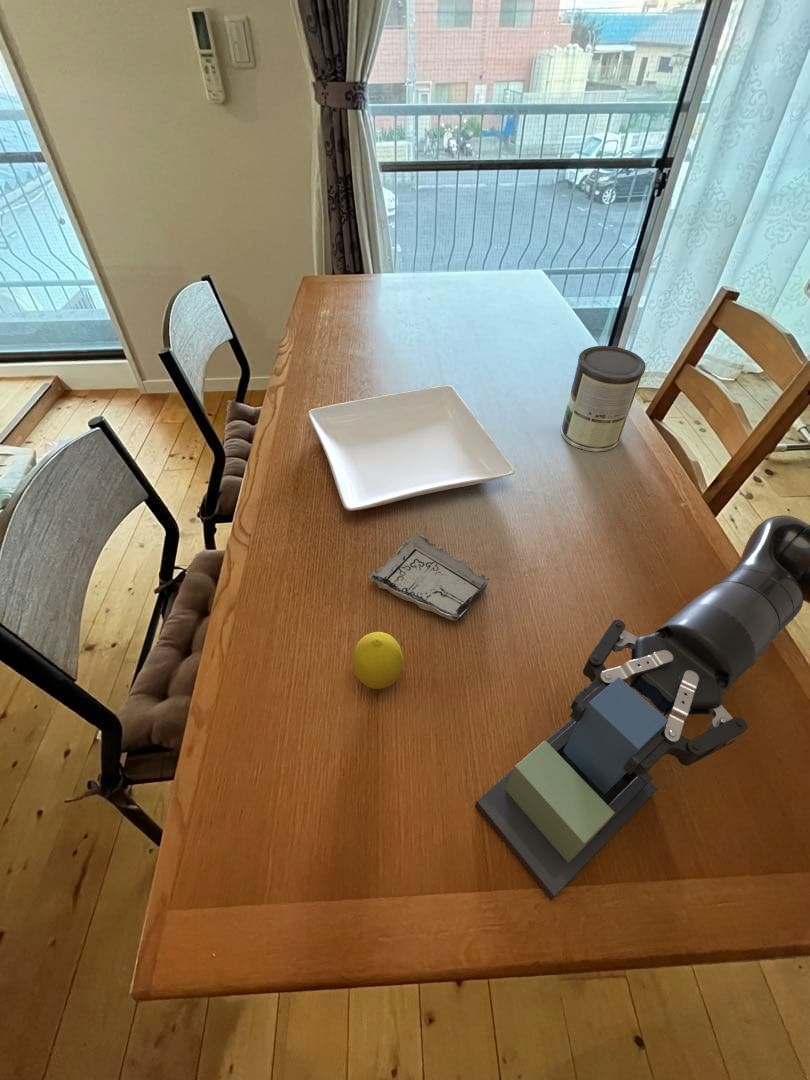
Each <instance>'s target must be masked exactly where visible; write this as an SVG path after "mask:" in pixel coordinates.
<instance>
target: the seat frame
mask: <svg viewBox="0 0 810 1080" xmlns="http://www.w3.org/2000/svg"><path fill="white" fill-rule="evenodd" d="M578 722H579V721H578ZM578 722H575V721H574V720H573V719H572V718H570V719H569V720H568V721H567V722H566V723H565V724H563V726H561V727H560V728H559V729H558V730H556V731H555V732H554V733H553V734H552V735H551V736H549V737H548V738H547V739H546V740H543V741H542V742H541V743H539V744H538V745H537V746H536V747H535V748H534V749H533V750H531V752H529V753H528V754H527V755H526V756H525V757H523V758H522V759H521V760H520V761H519V762H518V763H516V764H515V765H514V768H512V769H511V770H510V771H509V772H508V773H507V774H505V775H504V776H503V777H502V778H501V779H500V780H498V781H497V782H496V783H495V784H494V785H493V786H492V787H490V788H489V789H488V790H487V791H486V792H485V793H483V794H482V795H481V796H480V797H479V798H477V799H476V800H475V803H474V807H476V809H477V810H478V812H479V813H480V814H481V816H482V817H483V818H484V819H485V821H486V822H487V823H488V824H489V825H490V827H491V828H492V829H493V830H494V831H495V833H496V834H497V835H498V836H499V838H500V839H501V840H502V842H503V843H504V844H505V845H506V846H507V848H508V849H509V850H510V852H511V853H512V854H513V855H514V856H515V858H516V859H517V860H518V861H519V863H520V864H521V865H522V867H524V869H525V870H526V871H527V873H528V874H530V876H531V878H532V879H533V880H534V881H535V883H536V884H537V885H538V886H539V887H540V888H541V890H542V891H543V892H544V894H545V895H546V896H547V897H548V899H549V900H550V901H552V900H553V899H554V898H555V897H557V895H558V894H559V893H560V892H561V891H562V890H563V889H564V888H565V887H566V886H567V885H568V884H569V883H570V882H571V880H572V879H574V878H575V876H576V875H577V874H578V873H579V872H581V870H582V869H583V868H584V867H585V866H586V865H587V864H588V863H589V862H590V861H591V860H592V859H593V858H594V856H595V855H596V854H598V852H599V851H601V849H602V848H603V847H604V846H605V845H606V844H607V843H608V842H609V841H610V840H611V838H613V837H614V836H615V834H617V832H618V831H619V830H621V829H622V827H623V826H624V825H625V824H626V823H627V822H628V821H629V820H630V819H631V818H632V817H633V816H634V815H635V814H636V813H637V812H638V810H639V809H640V808H641V807H642V806H643V805H644V804H645V803H646V802H647V801H649V799H650V798H651V797H652V796H653V795H654V794H655V793H656V792H657V790H658V788H657V786H656V785H655V784H653V782H651V780H652V779H653V778H654V777H653V775H652V774H651V773H649V772H648V771H647V772H646V773H645V774H642V775H639V774H638V773H637V772H636V771H633V772H632V773H631V774H630V775H629V774H628V773H626V774H625V775H624V776H623V777H622V778H621V779H620V780H619V781H618V782H617V783H616V784H615V785H614V786H613V787H612V788H610V789H609V790H608V791H607V792H606V793H605V794H604V793H603V792H602V791H601V790H600V789H599V788H598V787H597V786H596V785H595V784H594V783H593V782H592V781H591V780H590V779H589V778H588V777H587V776H586V775H585V774H584V773H583V772H582V771H581V770H580V769H579V768H578V767H577V766H576V764H575V763H574V762H573V761H572V760H571V759H570V758H569V757H568V756H567V755H566V754H565V753H564V752H563V750H564V748H565V747H566V745H567V743H568V741H569V739H570V737H571V735H572V733H573V731H574V730H575V728H576V726H577V724H578Z"/></svg>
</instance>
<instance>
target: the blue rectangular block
mask: <svg viewBox="0 0 810 1080" xmlns="http://www.w3.org/2000/svg"><path fill="white" fill-rule="evenodd" d="M668 721H669V720H668V719H667V718H665V717H664V716H663V713H662V712H661V711H660V710H658V709H657V708H656V707H655V706H654V705H652V704H651V703H650V702H649V701H647V699H645V698H644V697H643V696H642V695H641V694H640V693H639V692H638V691H637V690H636V689H632V688H631V687H630V686H629V685H628V684H627V683H625V682H624V681H623V680H622V679H621V678H620V677H618V678H617V679H616V680H614V681H613V682H612V683H611V684H610V685H609V686H607V687H606V688H605V689H604V690H603V691H602V692H600V693H599V694H598V695H597V696H596V697H595V698H593V699H592V700H591V701H590V702H589V703H588V705H587V707H586V710H585V712H584V713H583V715H582V717H581V719H580V720H579V722H578V724H577V726H576V728H575V730H574V731H573V733H572V735H571V737H570V739H569V741H568V743H567V745H566V747H565V748H564V750H563V752H564V753H565V754H566V755H567V756H568V757H569V758H570V759H571V760H572V761H573V762H574V763H575V764H576V766H577V767H578V768H579V769H580V770H581V771H582V772H583V773H584V774H585V775H586V776H587V777H588V778H589V779H590V780H591V781H592V782H593V783H594V784H595V785H596V786H597V787H598V788H599V789H600V790H601V791H602V792H603V793H604V794H605V793H606V792H607V791H608V790H609V789H610V788H612V787H613V786H614V785H615V784H616V783H617V782H618V781H619V780H620V779H621V778H622V777H623V776H624V775H625V774H626V773H627V772H626V771H625V770H624V769H623V767H624V766H625V764H626V763H627V762H628V761H629V760H630V758H631V757H632V756H633V755H634V754H636V753H637V752H638V751H639V750H640V749H641V748H642V747H643V746H645V745H646V744H647V743H648V742H649V741H650V740H651V739H652V738H653V737H654V736H655V735H656V734H657V733H659V732H660V731H661V730H662V729H663V727H664V726H665V725H666V724H667V722H668Z"/></svg>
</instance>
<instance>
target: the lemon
mask: <svg viewBox="0 0 810 1080" xmlns="http://www.w3.org/2000/svg"><path fill="white" fill-rule="evenodd" d="M352 655H353V656H352V665H353V666H352V667H353V671H354V673H355V675H356V678H357V679H358V680H359V681H360V683H362V684H363V685H364V686H365V687H368V688H370V689H374V690H383V689H385V688H388V687H390V686H392V685H393V684H395V682H396V681H397V680H398V679H399V677H400V676H401V673H402V671H403V666H404V655H403V651H402V648H401V646H400V644H399V643H398V641H397V640H396V639H395V637H393V636H392V635H391V634H389V633H387V632H382V631H373V632H370V633H367V634H365V635H364V636H363V637H361V638H360V640H359V641H358V642H357V644H356V646H355V647H354V650H353V654H352Z"/></svg>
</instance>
